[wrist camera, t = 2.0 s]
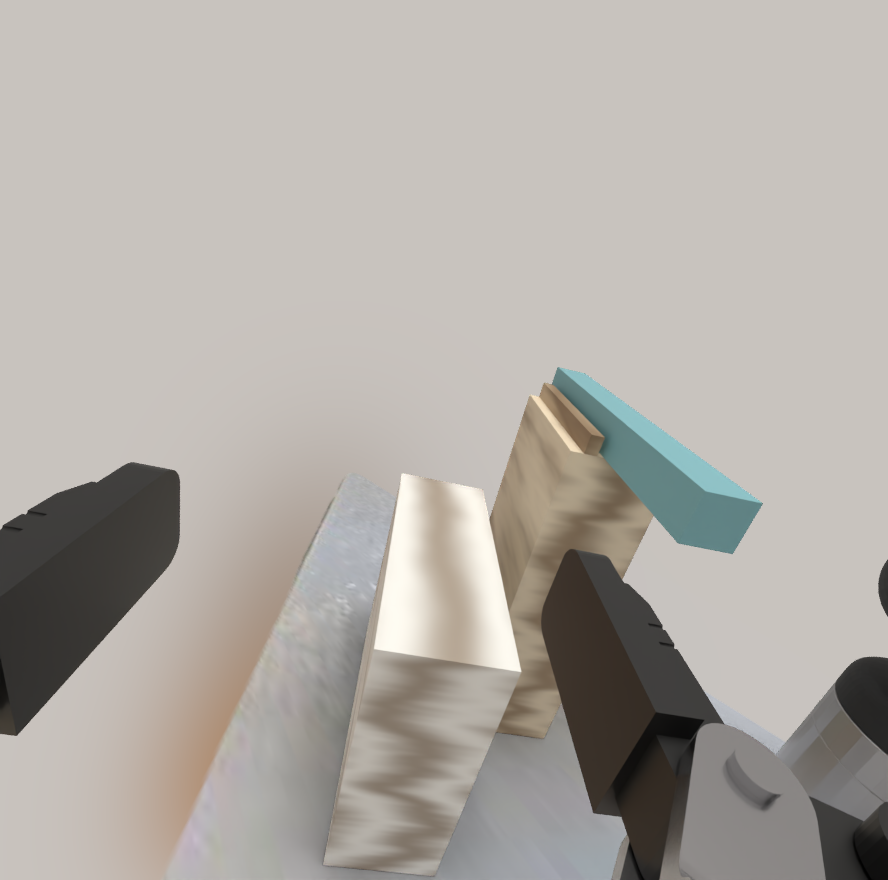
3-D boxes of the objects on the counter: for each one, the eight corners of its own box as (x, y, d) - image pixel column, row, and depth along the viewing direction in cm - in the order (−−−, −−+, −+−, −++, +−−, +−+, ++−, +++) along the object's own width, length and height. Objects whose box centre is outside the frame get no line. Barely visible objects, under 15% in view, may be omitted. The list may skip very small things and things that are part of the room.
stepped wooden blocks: (517, 626, 55) (609, 397, 43) (578, 890, 32) (809, 551, 20) (372, 602, 53) (426, 355, 41) (322, 865, 30) (415, 471, 18)
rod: (575, 400, 45) (585, 373, 44) (732, 554, 21) (763, 503, 20) (548, 394, 45) (557, 367, 44) (678, 543, 21) (705, 491, 20)
